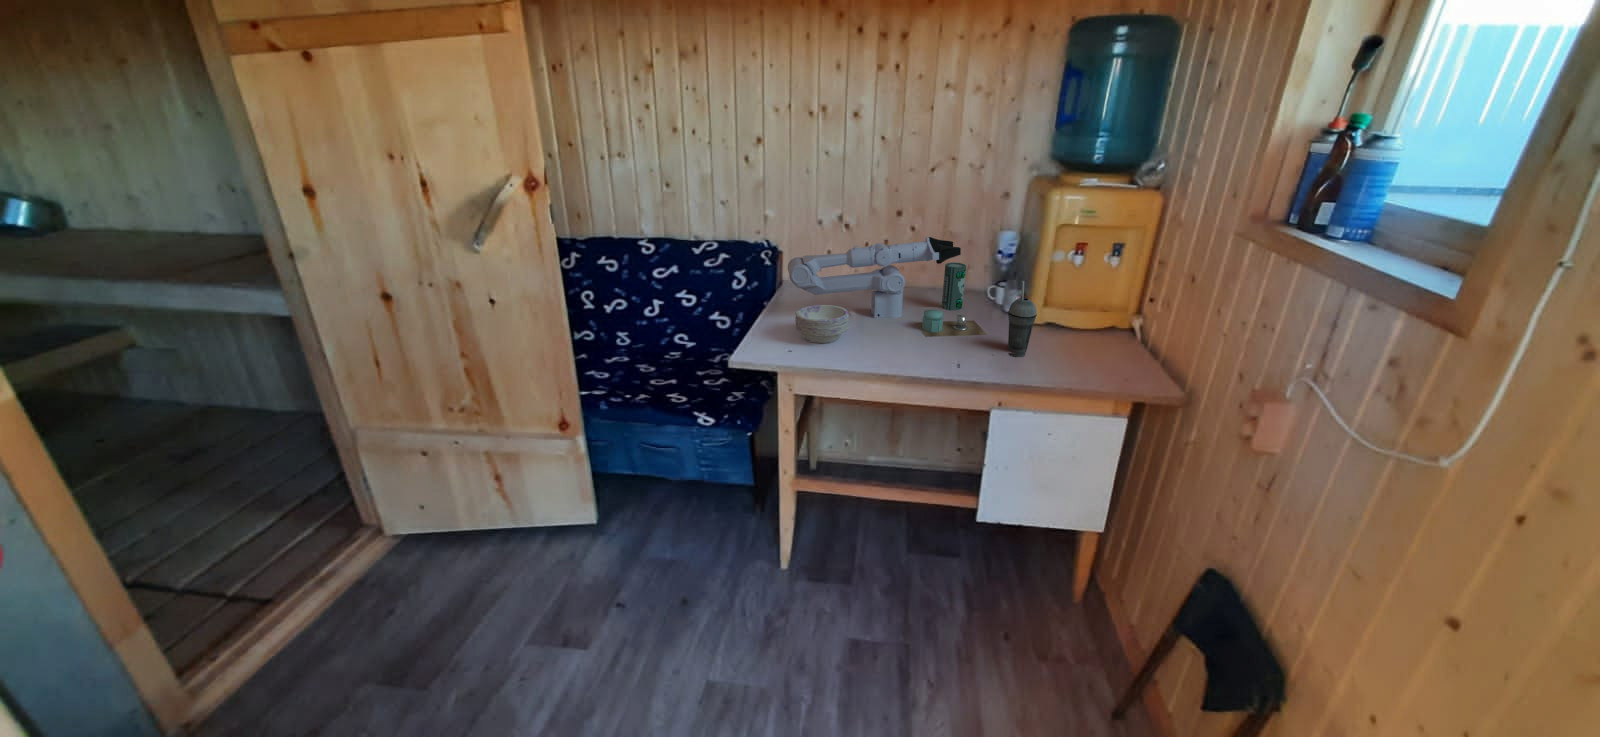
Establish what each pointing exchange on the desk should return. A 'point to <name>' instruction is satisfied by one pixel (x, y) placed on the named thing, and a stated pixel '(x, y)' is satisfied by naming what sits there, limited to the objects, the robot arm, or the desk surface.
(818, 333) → the paper bowls
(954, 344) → the desk surface
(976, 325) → the board
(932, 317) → the cap
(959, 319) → the silver rounded piece
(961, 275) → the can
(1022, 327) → the beverage cup
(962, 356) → the desk surface
